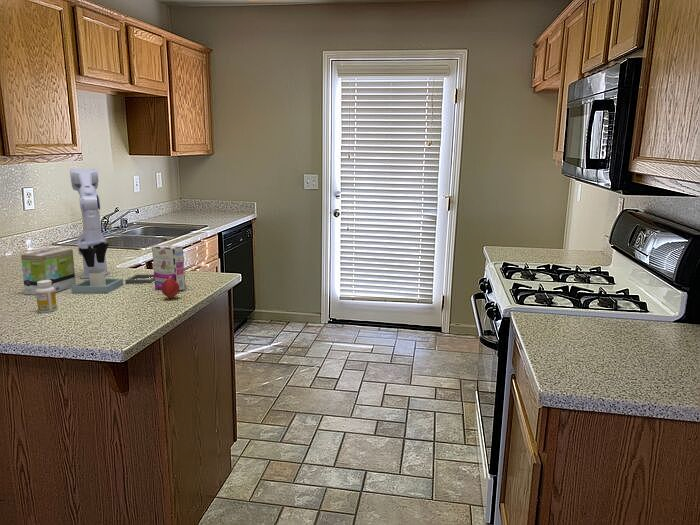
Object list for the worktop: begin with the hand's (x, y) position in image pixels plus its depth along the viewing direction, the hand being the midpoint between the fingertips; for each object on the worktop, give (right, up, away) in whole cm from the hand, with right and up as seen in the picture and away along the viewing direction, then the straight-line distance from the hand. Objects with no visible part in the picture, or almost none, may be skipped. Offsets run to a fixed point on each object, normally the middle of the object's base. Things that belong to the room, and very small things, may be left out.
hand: (96, 264), depth 202 cm
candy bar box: (+28, -9, 0) cm, 29 cm away
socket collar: (+12, -7, +15) cm, 20 cm away
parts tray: (0, -9, +2) cm, 9 cm away
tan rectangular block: (0, -9, +2) cm, 9 cm away
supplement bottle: (-3, -15, -26) cm, 30 cm away
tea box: (-17, -10, +1) cm, 20 cm away
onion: (+32, -12, -13) cm, 36 cm away
